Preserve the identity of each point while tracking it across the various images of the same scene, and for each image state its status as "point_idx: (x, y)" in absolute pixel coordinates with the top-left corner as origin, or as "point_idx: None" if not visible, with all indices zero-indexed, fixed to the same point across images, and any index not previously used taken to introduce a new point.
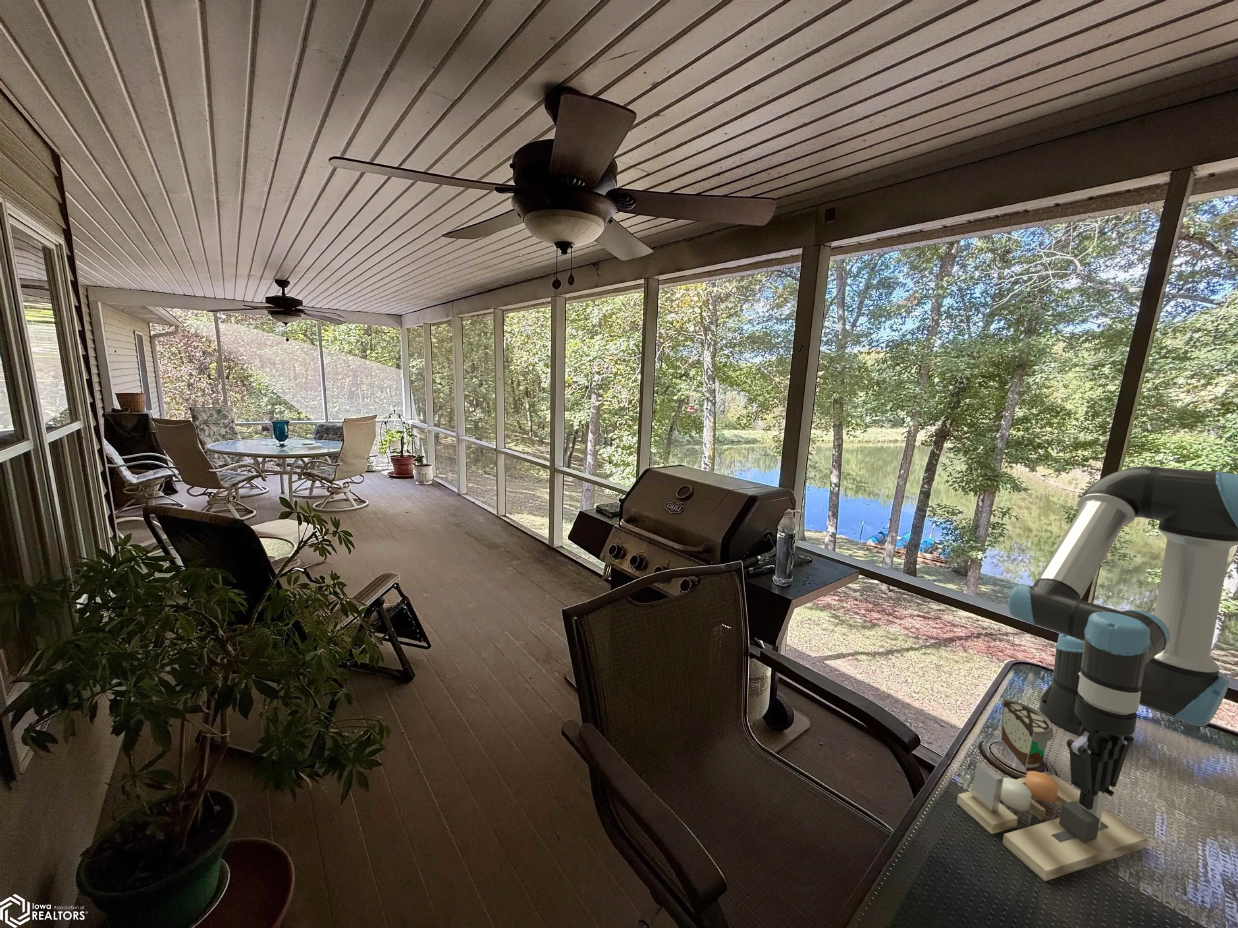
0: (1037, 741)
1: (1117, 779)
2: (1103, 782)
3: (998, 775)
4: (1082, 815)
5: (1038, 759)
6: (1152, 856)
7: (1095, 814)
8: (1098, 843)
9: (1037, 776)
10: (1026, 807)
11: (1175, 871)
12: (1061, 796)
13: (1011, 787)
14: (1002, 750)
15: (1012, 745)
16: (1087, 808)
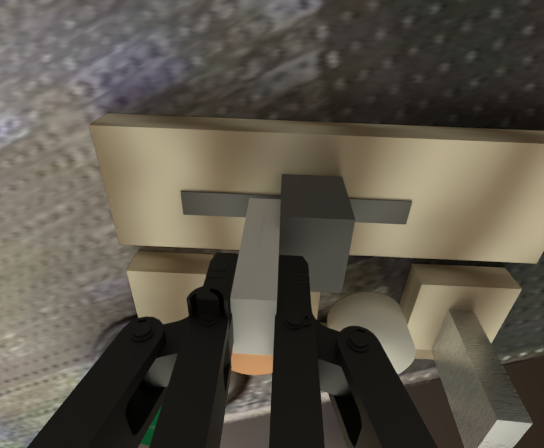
0: (146, 446)
1: (109, 355)
2: (221, 361)
3: (497, 428)
4: (327, 244)
5: None
6: (119, 84)
7: (279, 233)
8: (292, 161)
9: (251, 360)
10: (374, 299)
11: (100, 18)
12: None
13: None
14: None
15: None
16: (303, 260)
